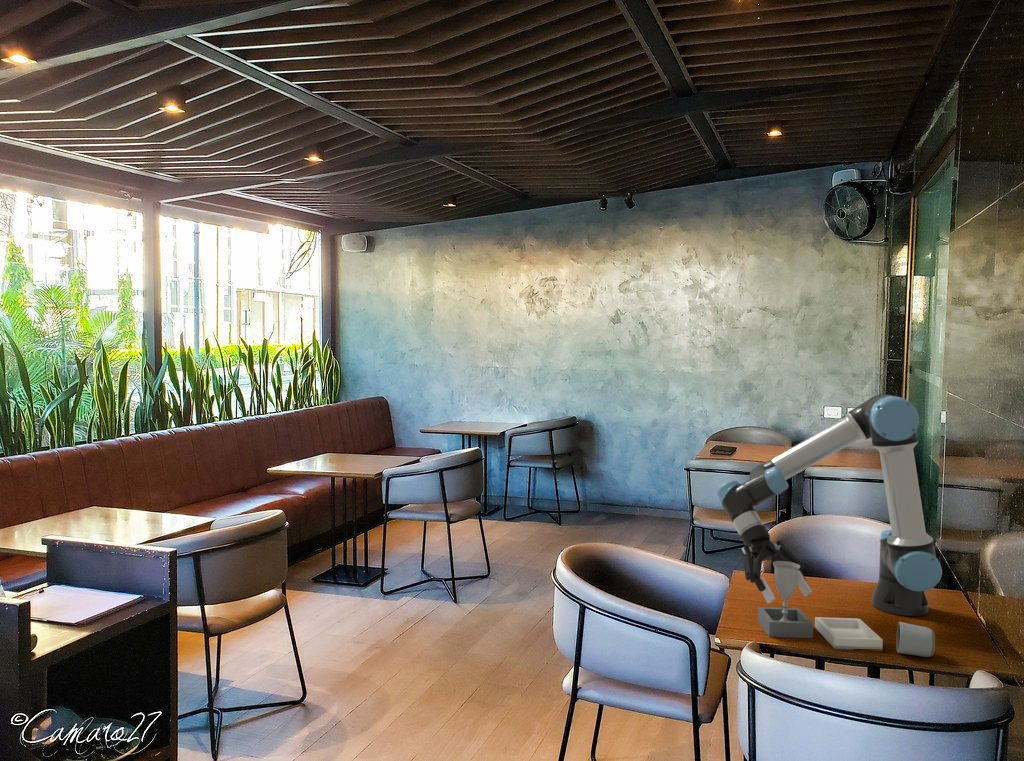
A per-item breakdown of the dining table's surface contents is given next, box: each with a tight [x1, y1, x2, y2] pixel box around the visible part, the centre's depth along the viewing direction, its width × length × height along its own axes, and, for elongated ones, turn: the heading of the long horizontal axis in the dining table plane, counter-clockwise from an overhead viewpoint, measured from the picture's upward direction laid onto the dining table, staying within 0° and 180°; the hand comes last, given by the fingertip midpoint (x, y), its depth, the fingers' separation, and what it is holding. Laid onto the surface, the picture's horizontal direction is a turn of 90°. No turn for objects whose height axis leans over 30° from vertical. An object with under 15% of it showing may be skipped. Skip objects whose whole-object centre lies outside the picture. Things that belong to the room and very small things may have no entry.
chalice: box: [772, 561, 800, 621], centre depth 208 cm, size 7×7×18 cm
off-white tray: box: [814, 616, 884, 650], centre depth 203 cm, size 12×15×3 cm
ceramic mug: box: [896, 621, 936, 658], centre depth 194 cm, size 11×8×8 cm
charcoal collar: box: [757, 606, 814, 639], centre depth 209 cm, size 11×11×4 cm
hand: (790, 597), depth 207 cm, fingers open, 13 cm apart
